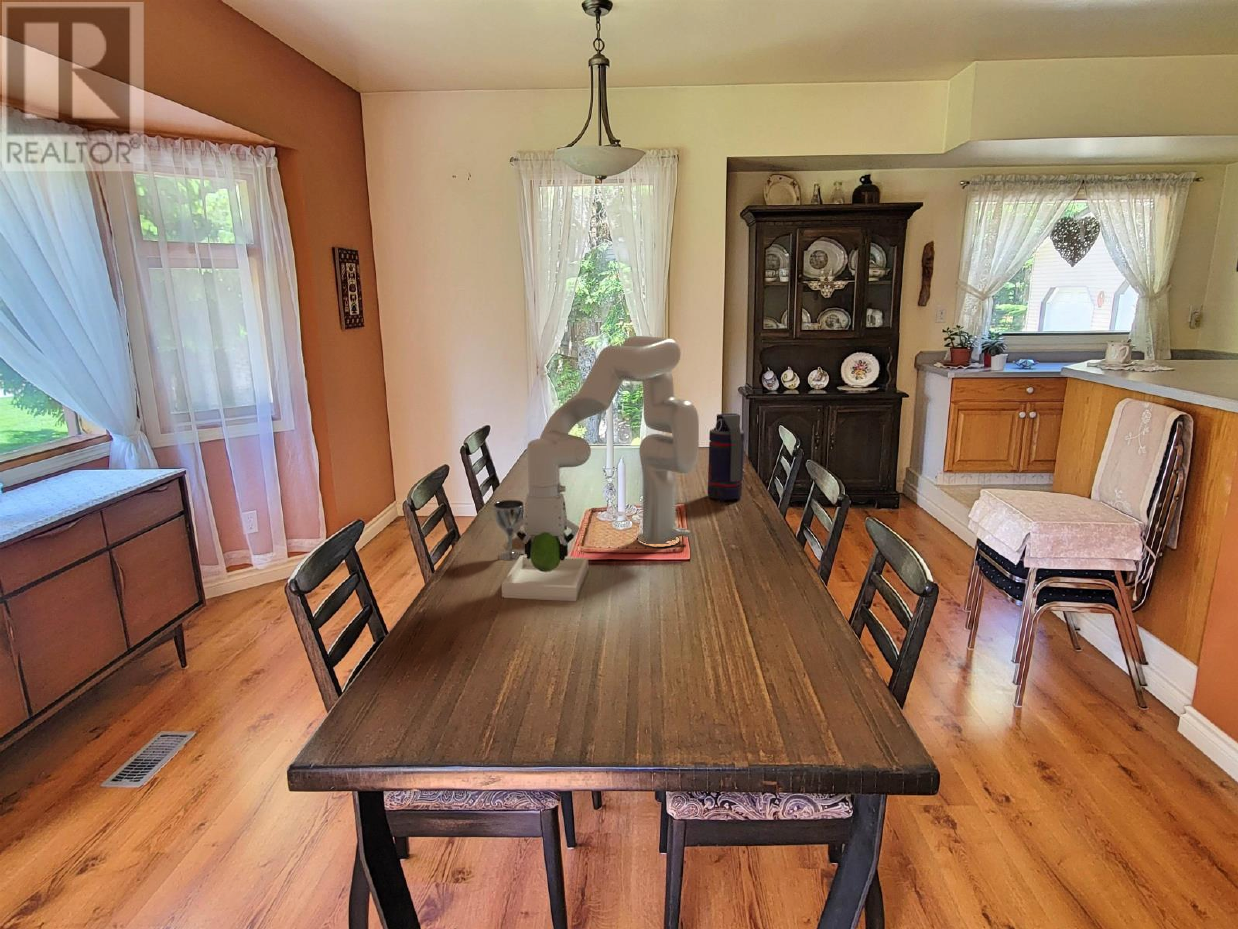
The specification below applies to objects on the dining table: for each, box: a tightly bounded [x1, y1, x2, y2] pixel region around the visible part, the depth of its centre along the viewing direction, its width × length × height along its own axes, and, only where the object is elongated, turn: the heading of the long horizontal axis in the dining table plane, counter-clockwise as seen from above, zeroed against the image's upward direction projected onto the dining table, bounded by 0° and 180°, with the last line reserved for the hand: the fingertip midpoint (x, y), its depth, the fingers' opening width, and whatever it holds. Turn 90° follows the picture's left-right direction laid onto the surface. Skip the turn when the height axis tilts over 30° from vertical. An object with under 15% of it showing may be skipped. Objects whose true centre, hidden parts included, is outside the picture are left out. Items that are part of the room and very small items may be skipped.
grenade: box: [707, 413, 746, 503], centre depth 234 cm, size 14×12×30 cm
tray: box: [501, 554, 589, 602], centre depth 169 cm, size 18×18×4 cm
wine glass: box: [493, 499, 525, 561], centre depth 186 cm, size 8×8×15 cm
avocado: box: [530, 532, 562, 572], centre depth 168 cm, size 8×8×12 cm
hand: (546, 557), depth 168 cm, fingers closed on avocado, 8 cm apart
